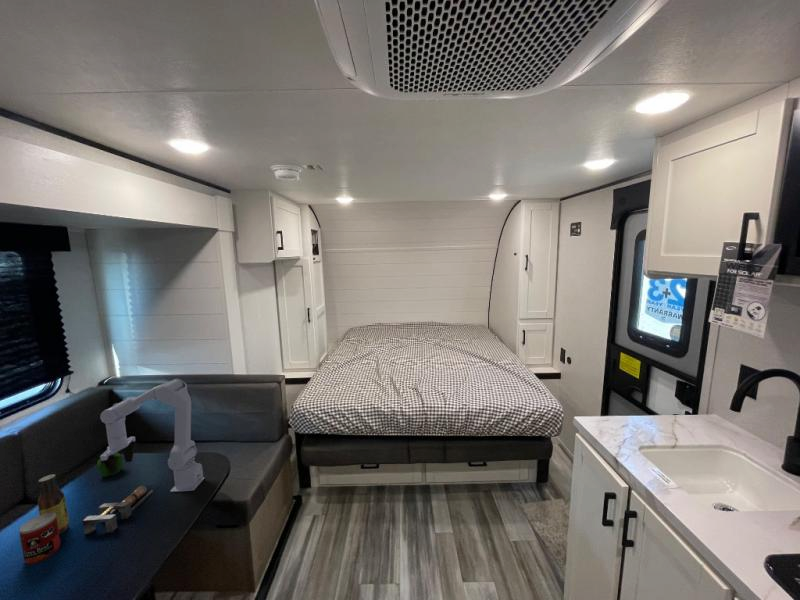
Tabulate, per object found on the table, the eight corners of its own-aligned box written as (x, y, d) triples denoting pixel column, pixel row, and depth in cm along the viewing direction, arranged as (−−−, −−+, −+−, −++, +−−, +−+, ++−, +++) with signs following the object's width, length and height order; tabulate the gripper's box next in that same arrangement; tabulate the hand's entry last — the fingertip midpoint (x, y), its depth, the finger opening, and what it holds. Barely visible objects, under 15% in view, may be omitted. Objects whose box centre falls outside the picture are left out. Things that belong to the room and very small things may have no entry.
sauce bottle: (73, 527, 112) (65, 473, 110) (49, 541, 106) (40, 485, 104) (62, 523, 114) (54, 470, 112) (38, 536, 108) (29, 481, 107)
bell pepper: (112, 479, 139) (109, 457, 138) (94, 479, 139) (91, 457, 138) (129, 467, 147) (126, 446, 146) (111, 467, 147) (109, 447, 146)
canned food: (18, 569, 96) (12, 535, 95) (33, 549, 103) (28, 518, 102) (53, 558, 100) (48, 525, 99) (65, 539, 107) (60, 508, 106)
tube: (138, 493, 128) (137, 485, 128) (147, 493, 128) (146, 485, 128) (117, 512, 118) (116, 504, 118) (126, 512, 118) (125, 503, 118)
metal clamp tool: (155, 492, 129) (154, 480, 128) (112, 532, 109) (110, 518, 108) (131, 493, 128) (130, 482, 128) (84, 534, 108) (82, 520, 108)
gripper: (121, 427, 137) (126, 457, 138) (90, 445, 122) (95, 479, 123) (138, 426, 137) (142, 456, 138) (109, 444, 122) (113, 477, 124)
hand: (121, 467), depth 131 cm, fingers open, 7 cm apart
